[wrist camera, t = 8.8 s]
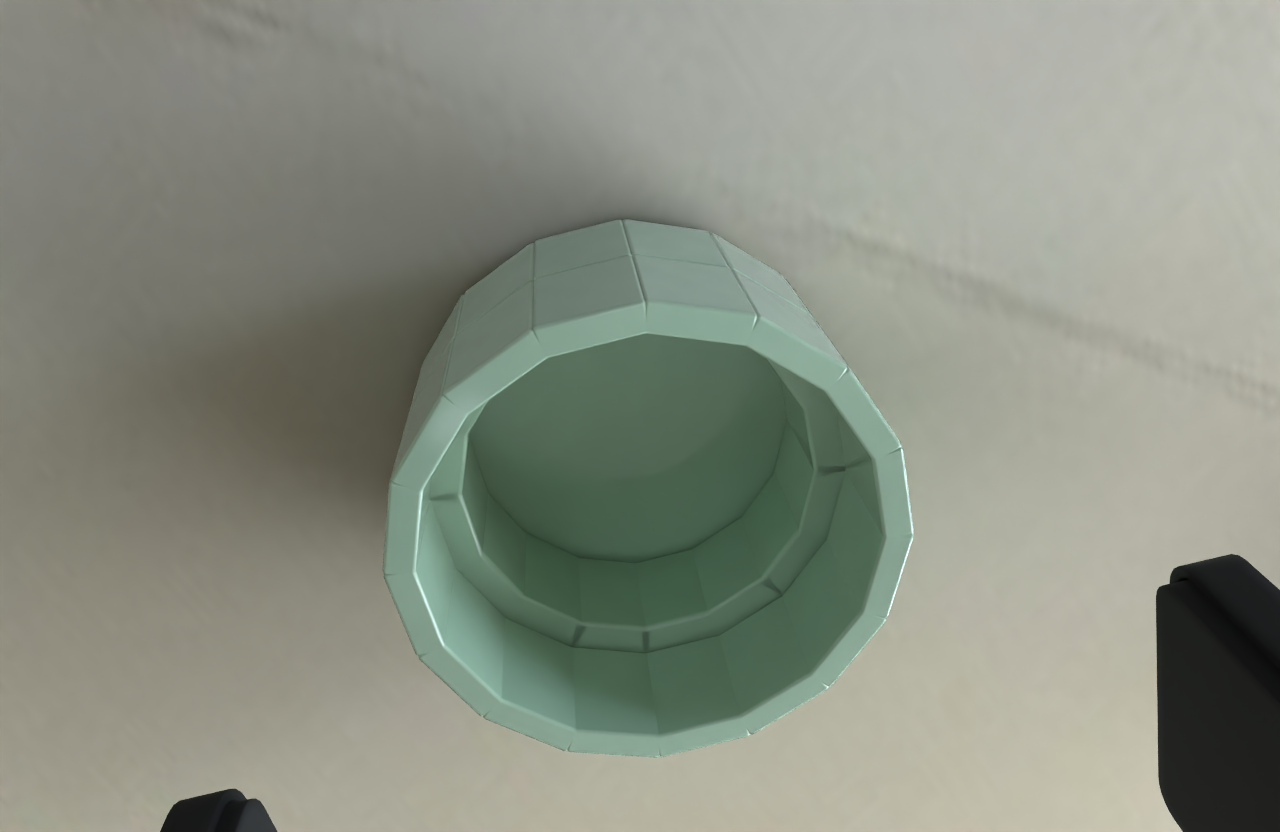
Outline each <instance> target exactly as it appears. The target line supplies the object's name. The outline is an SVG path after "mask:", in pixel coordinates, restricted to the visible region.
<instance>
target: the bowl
mask: <svg viewBox="0 0 1280 832" xmlns="http://www.w3.org/2000/svg"><path fill="white" fill-rule="evenodd" d="M913 533H914V527H913V519H912V512H911V504H910V497H909V489H908V482H907V474H906V467H905V459H904V452H903V448H902V446H901V442H900V441H899V439H898V438H897V436H896V435H895V433H894V432H893V430H892V429H891V427H890V426H889V424H888V423H887V421H886V420H885V419H884V417H883V416H882V414H881V413H880V411H879V410H878V408H877V407H876V405H875V404H874V402H873V401H872V399H871V398H870V396H869V395H868V394H867V392H866V391H865V389H864V388H863V386H862V385H861V383H860V382H859V380H858V379H857V377H856V376H855V374H854V373H853V371H852V370H851V369H850V367H849V366H848V364H847V363H846V362H845V360H844V359H843V357H842V356H841V355H840V353H839V352H838V351H837V349H836V348H835V346H834V345H833V344H832V342H831V341H830V339H829V338H828V337H827V335H826V334H825V332H824V331H823V330H822V328H821V327H820V326H819V324H818V323H817V321H816V320H815V319H814V317H813V316H812V314H811V313H810V312H809V310H808V309H807V307H806V306H805V305H804V303H803V302H802V301H801V299H800V298H799V296H798V295H797V294H796V292H795V291H794V289H793V288H792V287H791V285H790V284H789V282H788V281H787V280H786V279H785V278H783V277H782V275H781V274H780V273H779V272H777V271H776V270H774V269H772V268H771V267H769V266H767V265H766V264H764V263H762V262H761V261H759V260H757V259H756V258H754V257H752V256H751V255H749V254H748V253H746V252H744V251H743V250H741V249H739V248H738V247H736V246H734V245H733V244H731V243H729V242H728V241H726V240H724V239H723V238H721V237H719V236H718V235H716V234H715V233H709V232H708V231H705V230H698V229H691V228H684V227H677V226H670V225H663V224H656V223H649V222H642V221H635V220H628V219H625V220H623V221H622V220H614V221H610V222H606V223H602V224H598V225H594V226H590V227H586V228H582V229H578V230H574V231H570V232H566V233H562V234H558V235H554V236H551V237H547V238H543V239H539V240H536V241H535V244H534V243H531V244H529V245H527V246H526V247H525V248H523V249H522V250H521V251H519V252H518V253H517V254H515V255H514V256H513V257H511V258H510V259H509V260H507V261H506V262H504V263H503V264H502V265H500V266H499V267H498V268H496V269H495V270H494V271H492V272H491V273H490V274H488V275H487V276H486V277H484V278H483V279H482V280H480V281H479V282H478V283H476V284H475V285H474V286H472V287H471V288H470V289H468V290H467V291H466V292H465V294H464V295H462V296H461V297H460V299H459V300H458V302H457V304H456V306H455V307H454V309H453V311H452V313H451V314H450V316H449V318H448V320H447V321H446V323H445V325H444V327H443V328H442V330H441V332H440V334H439V335H438V337H437V339H436V341H435V342H434V344H433V346H432V348H431V349H430V351H429V353H428V355H427V356H426V358H425V360H424V362H423V364H422V367H421V371H420V375H419V378H418V382H417V385H416V389H415V393H414V396H413V400H412V403H411V407H410V411H409V414H408V418H407V421H406V424H405V428H404V432H403V435H402V439H401V442H400V446H399V450H398V453H397V457H396V460H395V464H394V467H393V471H392V475H391V478H390V482H389V488H388V502H387V515H386V529H385V543H384V557H383V573H384V579H385V581H386V584H387V586H388V589H389V591H390V593H391V596H392V598H393V601H394V603H395V605H396V608H397V610H398V613H399V615H400V618H401V620H402V622H403V625H404V627H405V630H406V632H407V634H408V637H409V639H410V642H411V644H412V646H413V649H414V651H415V653H416V655H418V657H419V659H420V660H421V661H422V662H423V663H424V664H425V665H426V666H427V667H428V668H429V669H431V670H432V671H433V672H434V673H435V674H436V675H437V676H438V677H439V678H440V679H441V680H442V681H443V682H444V683H446V684H447V685H448V686H449V687H450V688H451V689H452V690H453V691H454V692H455V693H456V694H457V695H458V696H459V697H460V698H462V699H463V700H464V701H465V702H466V703H467V704H468V705H469V706H470V707H471V708H472V709H473V710H474V711H475V712H477V713H478V714H479V715H480V716H483V717H484V718H485V719H487V720H489V721H492V722H494V723H497V724H499V725H501V726H504V727H506V728H509V729H511V730H514V731H516V732H519V733H521V734H524V735H526V736H529V737H531V738H534V739H536V740H539V741H541V742H543V743H546V744H548V745H551V746H553V747H556V748H558V749H561V750H563V751H566V750H568V751H569V752H578V753H594V754H609V755H625V756H641V757H658V756H659V755H660V757H664V756H668V755H673V754H677V753H681V752H685V751H689V750H693V749H697V748H702V747H706V746H710V745H714V744H718V743H722V742H726V741H730V740H735V739H739V738H743V737H747V736H749V733H750V734H754V733H756V732H757V731H759V730H761V729H762V728H764V727H766V726H767V725H769V724H771V723H772V722H774V721H776V720H777V719H779V718H781V717H782V716H784V715H786V714H787V713H789V712H791V711H792V710H794V709H796V708H797V707H799V706H801V705H802V704H804V703H806V702H807V701H809V700H811V699H812V698H814V697H816V696H817V695H819V694H820V693H822V692H824V691H825V690H827V689H828V686H832V685H833V683H834V682H835V681H836V680H837V679H838V677H839V676H840V675H841V674H842V673H843V671H844V670H845V669H846V668H847V667H848V665H849V664H850V663H851V662H852V661H853V659H854V658H855V657H856V656H857V655H858V653H859V652H860V651H861V650H862V649H863V647H864V646H865V645H866V644H867V643H868V641H869V640H870V639H871V638H872V637H873V635H874V634H875V633H876V632H877V631H878V629H879V628H880V627H881V626H882V625H883V623H884V622H885V621H886V617H888V615H889V612H890V609H891V606H892V603H893V600H894V596H895V593H896V590H897V587H898V584H899V581H900V578H901V575H902V571H903V568H904V565H905V562H906V559H907V556H908V553H909V549H910V546H911V543H912V540H913Z"/></svg>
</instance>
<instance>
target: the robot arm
mask: <svg viewBox="0 0 1280 832" xmlns="http://www.w3.org/2000/svg"><path fill="white" fill-rule="evenodd" d="M1156 628H1157V700H1158V772H1159V785H1160V789H1161V793H1162V795H1163V798H1164V801H1165V803H1166V805H1167V807H1168V809H1169V812H1170V813H1171V815H1172V816H1173V818H1174V820H1175V821H1176V822H1177V824H1178V825H1179V827H1180V828H1181V829H1182V831H1183V832H1280V590H1279V589H1278V588H1277V587H1276V586H1274V585H1273V584H1272V583H1271V582H1270V581H1269V580H1268V579H1267V578H1266V577H1264V576H1263V575H1262V574H1261V573H1260V572H1259V571H1258V570H1257V569H1255V568H1254V567H1253V566H1252V565H1251V564H1250V563H1249V562H1248V561H1246V560H1245V559H1243V558H1242V557H1240V556H1239V555H1234V554H1230V555H1226V556H1221V557H1217V558H1213V559H1209V560H1204V561H1200V562H1196V563H1191V564H1187V565H1183V566H1179V567H1177V568H1175V569H1174V570H1173V571H1172V573H1171V576H1170V584H1167V585H1163V586H1161V587H1159V588H1158V590H1157V595H1156ZM160 832H277V830H276V828H275V826H274V824H273V823H272V821H271V819H270V817H269V815H268V813H267V811H266V810H265V808H264V806H263V805H262V803H261V802H260V801H259V800H257V799H249V800H247V799H246V798H245V796H244V795H243V794H242V793H241V792H240V791H238V790H237V789H228V790H223V791H219V792H215V793H211V794H206V795H202V796H198V797H194V798H189V799H185V800H181V801H179V802H177V803H176V804H175V805H173V807H172V808H171V810H170V812H169V813H168V815H167V817H166V820H165V822H164V824H163V826H162V829H161V831H160Z"/></svg>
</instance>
